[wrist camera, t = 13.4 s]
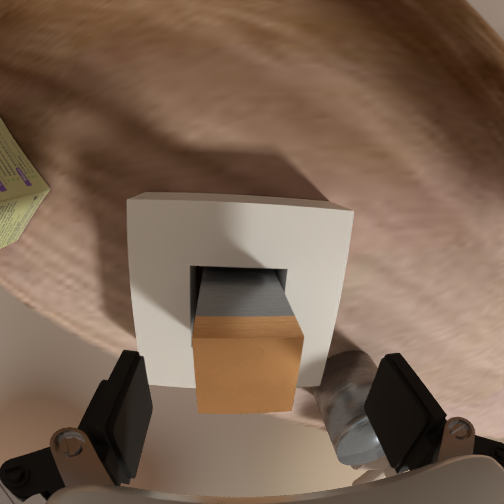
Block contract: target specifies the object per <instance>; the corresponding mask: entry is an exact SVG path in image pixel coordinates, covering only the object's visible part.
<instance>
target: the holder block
mask: <svg viewBox="0 0 504 504" xmlns="http://www.w3.org/2000/svg"><path fill="white" fill-rule="evenodd" d="M353 216H354V211H353V210H350V209H348V208H345V207H343V206H340V205H337V204H335V203H332V202H330V201H319V200H308V199H296V198H283V197H269V196H253V195H234V194H212V193H181V192H145V193H142V194H139V195H137V196H134V197H132V198H129V199H127V242H128V261H129V276H130V288H131V298H132V308H133V317H134V325H135V333H136V340H137V347H138V352H139V354H140V356H143V357H144V360H145V367H146V373H147V378H148V384H150V385H160V386H173V387H186V388H196V384H195V372H194V360H193V346H192V334H193V328H194V322H195V315H196V266H215V267H242V268H272V269H274V271H275V274H276V276H277V278H278V280H279V282H280V284H281V287H282V289H283V291H284V293H285V295H286V297H287V300H288V302H289V304H290V306H291V308H292V310H293V313H294V315H295V317H296V319H297V321H298V324H299V326H300V328H301V330H302V332H303V335H304V343H303V349H302V355H301V362H300V368H299V373H298V379H297V385H296V388H297V387H312V386H320V383H321V380H322V376H323V372H324V368H325V364H326V360H327V356H328V352H329V348H330V344H331V339H332V335H333V331H334V326H335V321H336V317H337V312H338V307H339V302H340V297H341V292H342V286H343V281H344V275H345V270H346V264H347V258H348V251H349V245H350V238H351V231H352V224H353Z"/></svg>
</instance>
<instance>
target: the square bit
mask: <svg viewBox="0 0 504 504" xmlns="http://www.w3.org/2000/svg"><path fill="white" fill-rule="evenodd" d="M303 343H304V335H303V332H302V330H301V328H300V326H299V324H298V321H297V319H296V317H295V315H294V313H293V310H292V308H291V306H290V304H289V302H288V300H287V297H286V295H285V293H284V291H283V289H282V287H281V284H280V282H279V280H278V278H277V276H276V274H275V271H274V269H272V268H242V267H215V266H204V269H203V275H202V280H201V286H200V292H199V297H198V303H197V309H196V315H195V322H194V328H193V334H192V346H193V360H194V372H195V384H196V394H197V404H198V413H205V414H207V413H208V414H238V413H239V414H243V413H268V412H283V411H292V406H293V401H294V396H295V390H296V385H297V379H298V373H299V368H300V362H301V355H302V349H303Z"/></svg>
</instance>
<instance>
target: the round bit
mask: <svg viewBox="0 0 504 504" xmlns="http://www.w3.org/2000/svg"><path fill="white" fill-rule="evenodd" d="M377 370H378V368H377V366H376V365H375V363H374V362H373V360H372V359H371V358H370V356H369V355H368V354H366V353H364V352H362V351H356V350H352V351H345V352H342V353H339V354H336V355H334V356H332V357H331V358H329V359H328V360H326V364H325V368H324V372H323V376H322V380H321V383H320V386H312V387H311V388H312V391H313V394H314V397H315V399H316V402H317V405H318V407H319V410H320V412H321V415H322V418H323V420H324V423H325V426H326V428H327V431H328V433H329V436H330V439H331V442H332V444H333V447H334V450H335V452H336V455H337V457H338V460H339V461H340V462H341V463H342V464H345V465H361V464H365V463H369V462H372V461H374V460H377V459H379V458H381V457H383V456H385V453H384V451H383V449H382V447H381V445H380V442H379V440H378V438H377V436H376V434H375V432H374V430H373V428H372V426H371V423H370V421H369V419H368V417H367V415H366V413H365V411H364V403H365V401H366V398H367V396H368V393H369V391H370V388H371V386H372V383H373V381H374V378H375V375H376V373H377Z"/></svg>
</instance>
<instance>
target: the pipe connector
mask: <svg viewBox="0 0 504 504" xmlns="http://www.w3.org/2000/svg"><path fill="white" fill-rule="evenodd" d="M351 467H352V468H353V469H356V470H368V471H367V472H366V473H364V474H363V475H362V476H361V477H359V478H358V479H356V480H355V481H354V482H353V483H352V486H354V485H359V484H363V483H368V482H372V481H376V480H379V479H380V478H381V477H383V476H384V475H385V476H386V478H387V477H391V476H394V475H398V474H401V473H398V474H397V473H396V471H395V468H392V467H391V466H390V464H389V462H388V460H387V458H386V455H385V456H383V457H381V458H379V459H377V460H374V461H372V462H369V463H365V464H361V465H351ZM402 473H404V472H402Z"/></svg>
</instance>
